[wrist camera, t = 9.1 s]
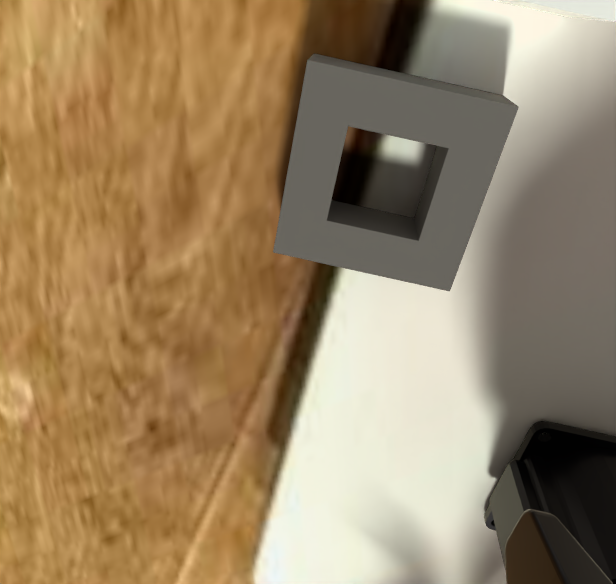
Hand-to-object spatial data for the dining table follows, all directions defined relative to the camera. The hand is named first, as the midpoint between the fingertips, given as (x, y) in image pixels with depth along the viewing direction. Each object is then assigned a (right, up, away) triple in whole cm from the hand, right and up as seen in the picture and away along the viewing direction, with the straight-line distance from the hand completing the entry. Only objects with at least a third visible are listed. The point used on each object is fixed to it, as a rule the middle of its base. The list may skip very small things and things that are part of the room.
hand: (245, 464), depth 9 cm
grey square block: (+3, +7, +10) cm, 12 cm away
